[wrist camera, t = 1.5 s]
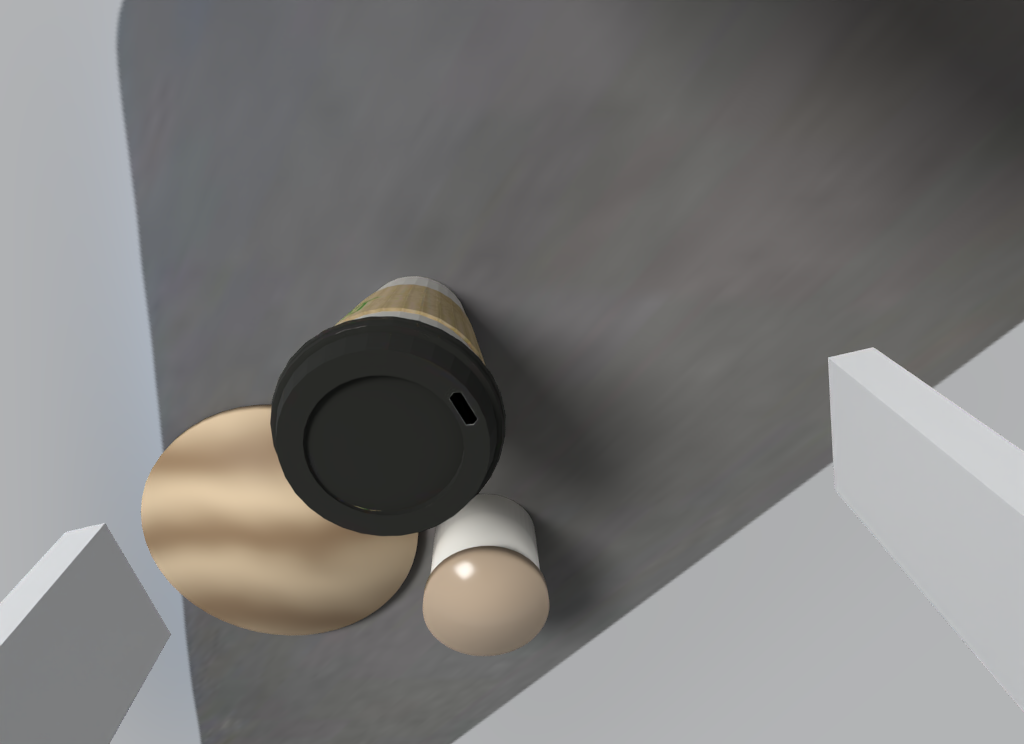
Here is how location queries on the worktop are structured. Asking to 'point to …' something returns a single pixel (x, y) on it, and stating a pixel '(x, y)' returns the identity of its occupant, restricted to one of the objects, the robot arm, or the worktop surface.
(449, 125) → the worktop surface
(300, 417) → the coffee cup
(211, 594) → the round wooden board
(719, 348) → the worktop surface
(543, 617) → the sugar jar
